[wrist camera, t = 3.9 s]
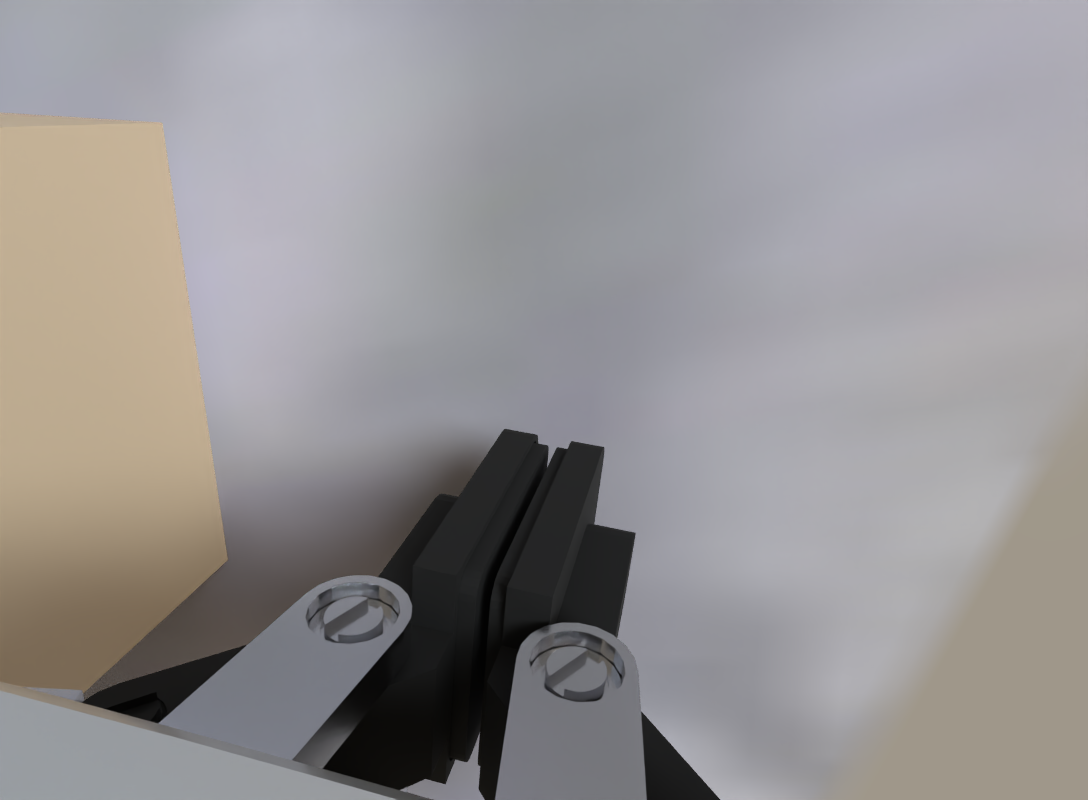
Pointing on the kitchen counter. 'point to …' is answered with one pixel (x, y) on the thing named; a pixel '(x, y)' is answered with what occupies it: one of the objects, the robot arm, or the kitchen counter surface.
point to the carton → (95, 401)
